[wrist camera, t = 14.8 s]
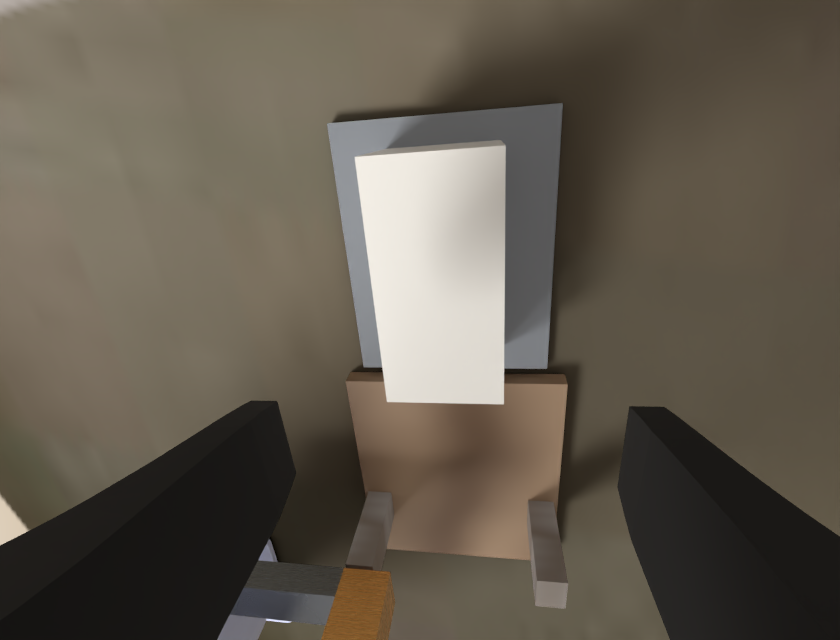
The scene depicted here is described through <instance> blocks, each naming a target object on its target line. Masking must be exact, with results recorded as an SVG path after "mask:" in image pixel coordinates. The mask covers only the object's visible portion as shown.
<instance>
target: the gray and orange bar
mask: <svg viewBox="0 0 840 640" xmlns="http://www.w3.org/2000/svg"><path fill="white" fill-rule="evenodd" d="M394 605H395V599H394V592H393V586H392V580H391V573H390V572H385V571H374V570H363V569H351V568H340V567H328V566H317V565H306V564H294V563H283V562H272V561H260V560H258V562H257V563H256V565H255V567H254V569H253V571H252V573H251V575H250V577H249V579H248V581H247V583H246V585H245V586H244V588H243V590H242V592H241V594H240V596H239V598H238V600H237V602H236V604H235V606H234V608H233V609H232V611H231V613H230V615H238V616H247V617H256V618H265V619H274V620H283V621H292V622H301V623H310V624H319V625H326V626H325V629H324V633H323V636H322V639H321V640H388V637H389V632H390V626H391V621H392V616H393V611H394Z"/></svg>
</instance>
